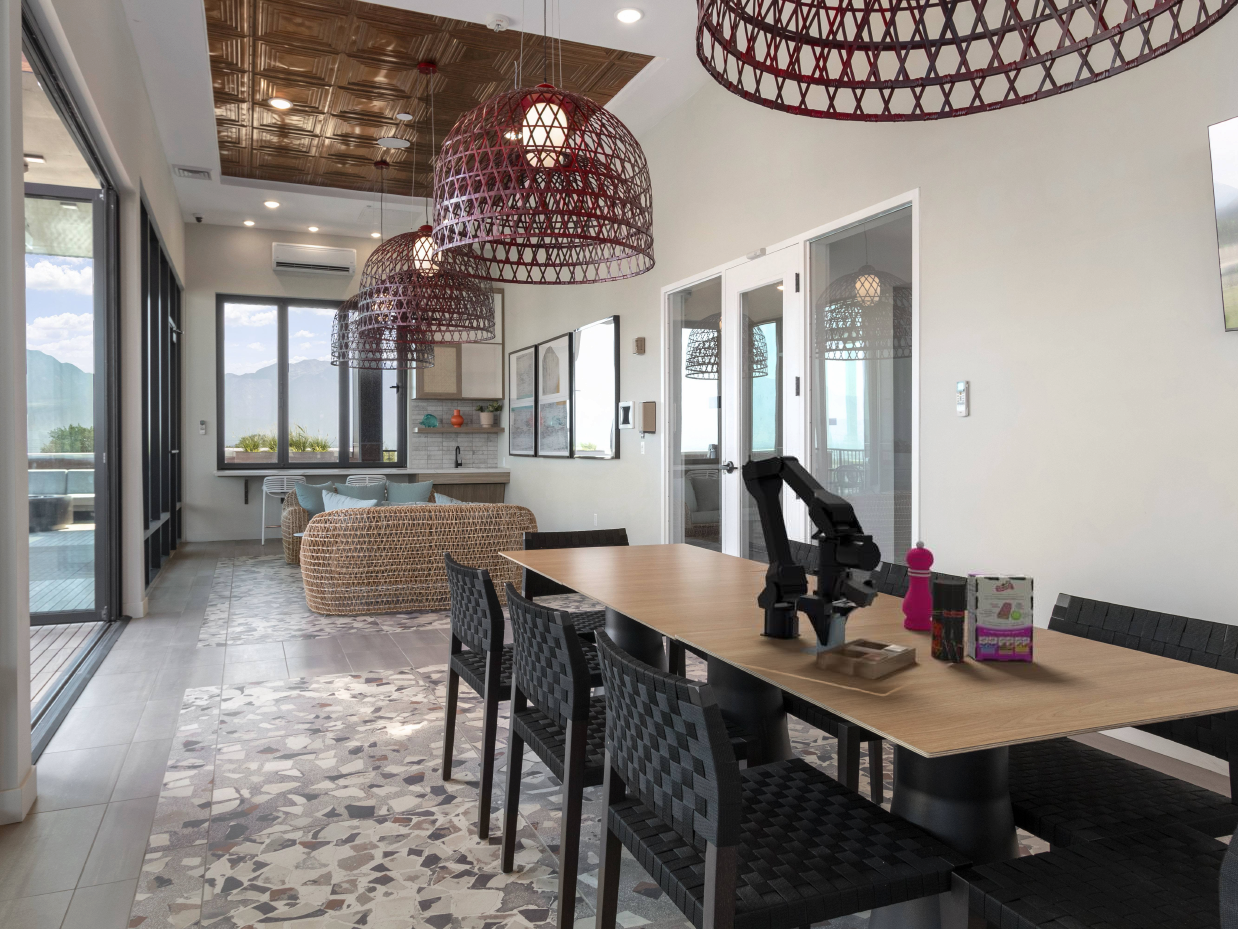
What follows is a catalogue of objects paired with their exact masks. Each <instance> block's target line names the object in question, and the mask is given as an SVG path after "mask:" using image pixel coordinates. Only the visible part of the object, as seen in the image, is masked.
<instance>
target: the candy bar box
mask: <svg viewBox="0 0 1238 929" xmlns="http://www.w3.org/2000/svg"><path fill="white" fill-rule="evenodd" d="M1034 584H1035V583H1034V577H1032V576H1030V575H1026V574H1012V573H1011V574H1010V573H1009V574H1006V573H1004V574H1003V573H1001V574H999V573H997V574H996V573H995V574H994V573H988V574H987V573H967V600H966V601H967V606H966V608H967V611H966V612H967V614H966V615H967V616H966V618H967V621H966V623H967V624H966V625H967V629H966V633H967V634H966V635H967V636H966V641H967V642H966V644H967V645H966V647H967V648H966V649H967V650H966V653H967V654H966V655H967V656H968V657H970V658H971V659H973V660H975V661H979V662H980V661H981V662H984V661H985V662H1030V663H1031V662H1033V660H1034V654H1033V653H1034Z"/></svg>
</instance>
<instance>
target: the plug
mask: <svg viewBox="0 0 1238 929" xmlns="http://www.w3.org/2000/svg"><path fill="white" fill-rule="evenodd" d="M845 643H846V625H845V616H840V613H837V615H836V616H835V617H833V618H832V619H831V622H830V630H829V637H828V643H827V646H822V645H821V644H820V641H819V639H818V637H817V636H816V646H817V649H816V652H822V651H825V650H828V649H831V648H834V647H836V646H839V645H842V644H845Z"/></svg>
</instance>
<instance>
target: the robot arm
mask: <svg viewBox="0 0 1238 929" xmlns="http://www.w3.org/2000/svg"><path fill="white" fill-rule="evenodd" d="M741 475H742V479H743V482H744V485H745V488H746V491H747V492H748V493H749V494H750V495H751V496H752V498H753V499H754V500H755V502H756V506H757V510H758V514H759V515H758V516H759V520H760V524H761V525H760V526H761V528H762V534H763V539H764V543H765V548H766V554H767V558H768V562H769V566H768V567H767V571H766V574H765V577H764V578H765V587H764V588H763V590H762V591H761V592H760V594H758V596H757V597H756V598H757V599H756V600H757V604H758V608H760V609H763V610H764V616H763V617H764V620H763V622H764V626H763V627H764V628H763V632H760V634H759V635H760V636H762V637H767V638H771V639H772V638H773V639H778V640H783V641H789V640H791V639H794V638H797V637H800V636H802V635H801V633H800V630H799V628H800V617H799V616H798V612H801V613H804V614H805V615H806V616H807V618H808V620H809V622H810V624H811V627H812V628H813V630H814V632H815V634H816V638H817V637H818V639H819V641H820V644H821V645H822V646H827V643H828V637H829V630H830V622H831V619H832V618H833V617H835V616H836V615H837V613H840V616H845V626H846V625H847V623H848V620H849V617H850V615H851V614H853V612H855V611H856V610H858V609H859V608H861V609H865V608H866V607H872V604H873V602H874V600H875V598H878V596H879V593H878V590H879V589H878V586H877V585H878V584H877V581H876V580H874V579H872V578H868V579H865V580H864V581H862V580H857V579H854V577H853V575H854V573H853V571H852V570H853V569H854V570H858V571H862V572H863V571H864V572H868V573H869V572H872V571H875V569H877V567H879V565H880V563H881V558H882V552H881V551H880V548H879V545H878V544H877V543H876V542H875V541H874V537H873V534H865V532H864V530H863V526H862V525H861V524H860V521H859V520H858V517H857V515H856V513H855V509H854V507H853V505H852V504H851V503H850V502H848V501H847V500H846V499H844V498H843V497H841V496H840V495H838V494H834V493H833V492H830V491H828V490H826V489H825V488H824V487H823V486H822V485H821V483H820V482H818V480H816V478H815V477H813V475H812V474H811V473H810V472H809V471H808V470H807V469H806V468H805V467H804V466H803V465H802V463H800V460H799V459H798V457H796V456H794V455H784V454H783V455H781V454H780V455H778V454H777V455H776V456H773V457H770V458H765V459H750V460H747V461H746V462H745V464H744V465H743V467H742V470H741ZM784 482H785V484H787V486H788V487H790V489H791V490H792V491H793V493H795V494H796V495H797V496H798V497H799V498H800V500H801V501H802V502H803V503H804V504H805V505H806V507H807V515H808V517H809V518H810V520H811V522H812V523H813V524H814V526H815V527H816V529H817V530H816V531H815V532H814V533H813V534H812V535H811V536H810V539H811V540H815V541H818V542H817V568H813V572H812V573H813V575H815V576H817V577H816V579H817V580H816V588H817V589H816V588H815V589H812V594H808V592H809V580H808V578H807V574H806V573H807V571H806V568H805V566H804V565H803V564H799V565H798V564H797V563H796V561H794V559H793V555H792V551H791V546H790V542H789V541H790V540H789V538H788V533H787V528H786V524H785V520H784V519H785V518H784V515H783V510H782V505H781V501H780V493H781V490H782V489H783V485H784ZM851 569H852V570H851ZM853 604H854V605H853Z"/></svg>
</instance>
